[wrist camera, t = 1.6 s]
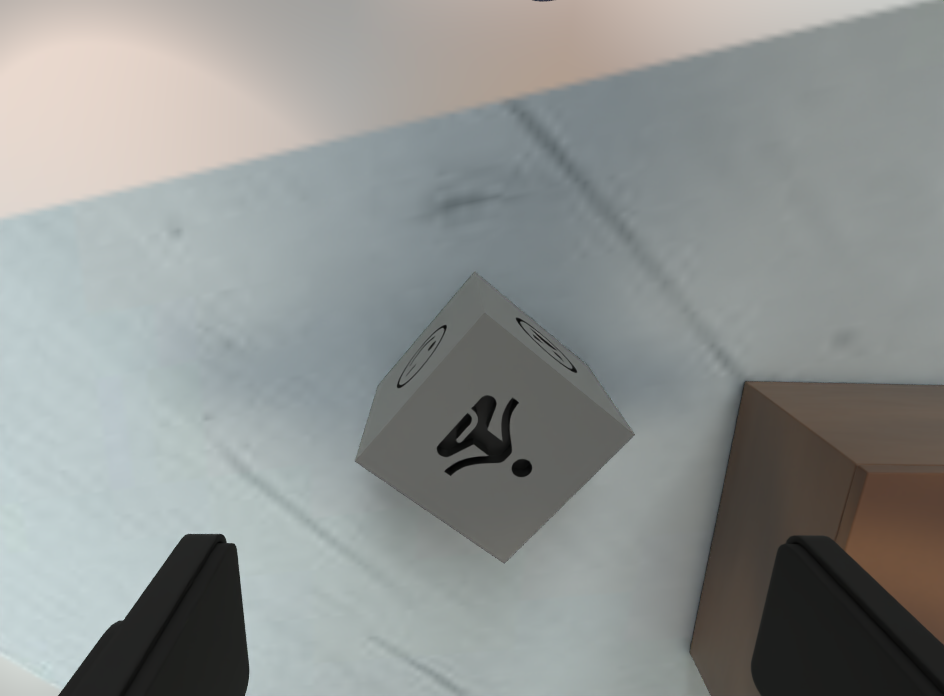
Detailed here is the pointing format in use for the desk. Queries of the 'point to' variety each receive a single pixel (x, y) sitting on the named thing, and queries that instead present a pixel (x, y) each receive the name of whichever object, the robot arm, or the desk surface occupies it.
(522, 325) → the dice cube
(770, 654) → the robot arm
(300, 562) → the desk surface
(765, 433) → the walnut block
